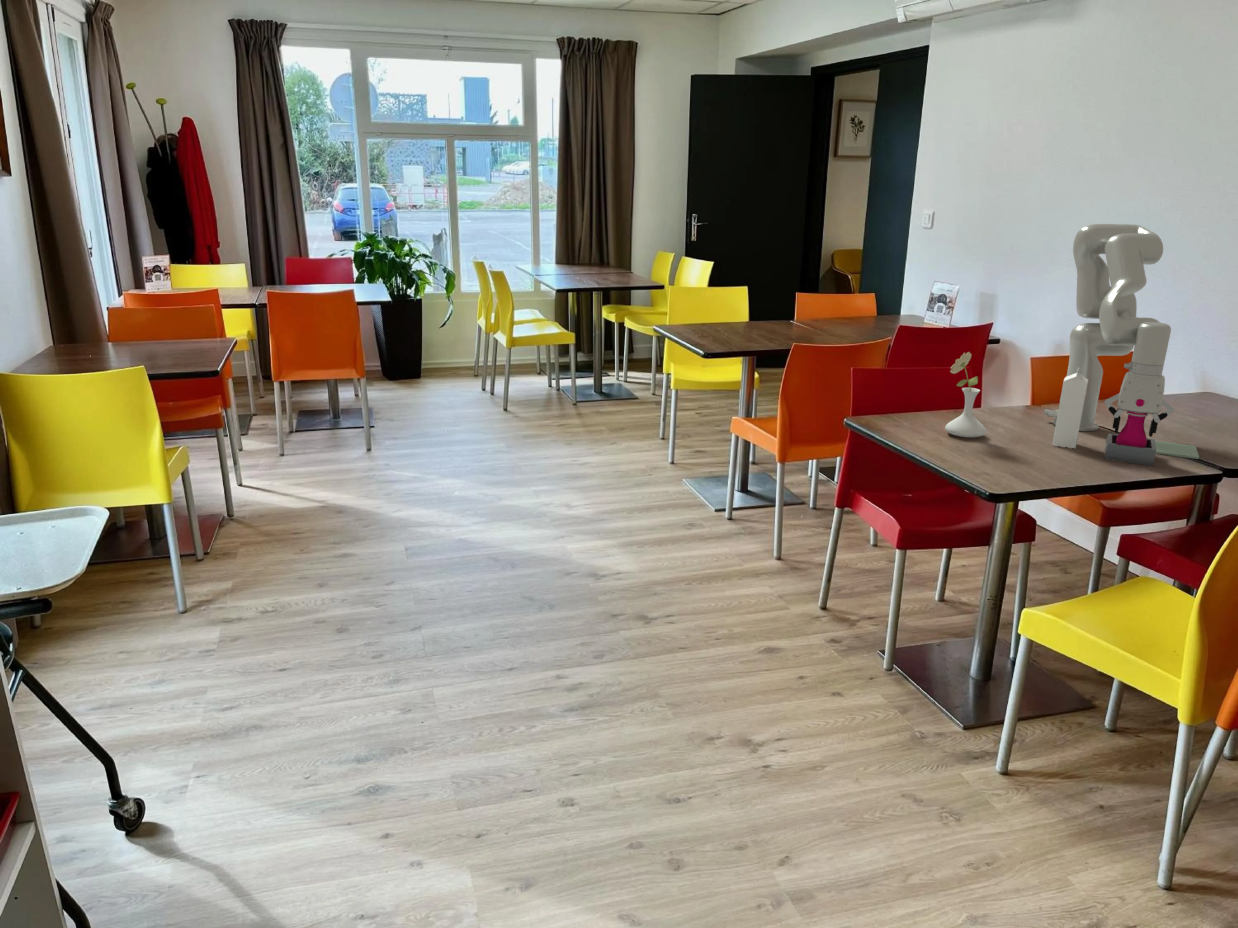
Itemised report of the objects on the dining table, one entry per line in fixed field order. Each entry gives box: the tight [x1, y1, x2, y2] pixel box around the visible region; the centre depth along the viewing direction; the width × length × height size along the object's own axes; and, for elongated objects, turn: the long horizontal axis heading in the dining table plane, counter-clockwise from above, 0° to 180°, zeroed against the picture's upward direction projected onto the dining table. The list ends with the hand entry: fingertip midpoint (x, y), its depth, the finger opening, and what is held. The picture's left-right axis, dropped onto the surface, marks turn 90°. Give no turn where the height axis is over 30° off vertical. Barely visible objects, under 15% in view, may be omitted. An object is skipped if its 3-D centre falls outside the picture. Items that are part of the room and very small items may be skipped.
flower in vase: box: [944, 351, 987, 438], centre depth 256 cm, size 13×11×25 cm
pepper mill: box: [1116, 399, 1149, 447], centre depth 239 cm, size 7×7×20 cm
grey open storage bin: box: [1104, 433, 1156, 467], centre depth 241 cm, size 11×11×4 cm
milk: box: [1052, 368, 1088, 450], centre depth 249 cm, size 6×6×22 cm
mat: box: [1155, 440, 1200, 460], centre depth 249 cm, size 14×12×1 cm
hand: (1133, 432), depth 240 cm, fingers open, 7 cm apart
